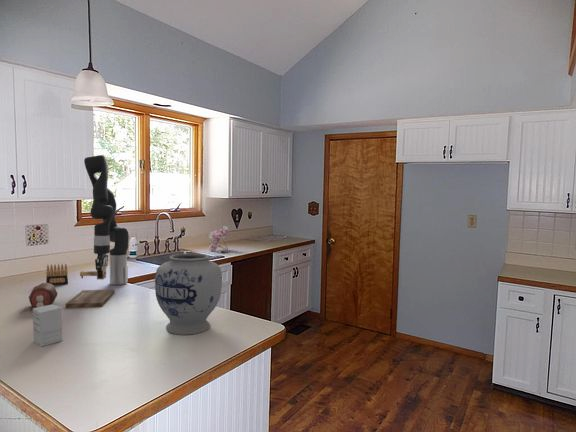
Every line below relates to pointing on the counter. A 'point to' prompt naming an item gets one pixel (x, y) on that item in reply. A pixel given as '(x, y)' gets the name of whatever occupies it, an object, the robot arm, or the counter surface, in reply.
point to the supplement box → (47, 324)
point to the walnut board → (90, 298)
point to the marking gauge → (93, 273)
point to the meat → (43, 295)
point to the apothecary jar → (188, 292)
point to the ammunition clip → (57, 275)
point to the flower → (217, 237)
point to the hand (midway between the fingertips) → (101, 276)
